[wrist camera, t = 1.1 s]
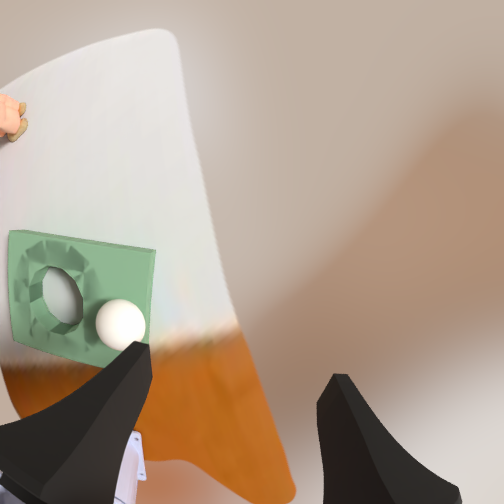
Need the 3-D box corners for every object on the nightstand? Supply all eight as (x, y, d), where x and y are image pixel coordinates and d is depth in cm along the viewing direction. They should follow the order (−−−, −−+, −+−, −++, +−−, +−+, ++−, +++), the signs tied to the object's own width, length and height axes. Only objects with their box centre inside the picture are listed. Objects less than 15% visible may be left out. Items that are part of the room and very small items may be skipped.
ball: (148, 342, 19) (140, 364, 15) (104, 334, 18) (89, 353, 15) (150, 297, 19) (141, 312, 15) (105, 289, 18) (87, 303, 14)
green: (148, 362, 21) (144, 375, 19) (25, 332, 19) (13, 340, 16) (155, 249, 21) (150, 253, 18) (23, 229, 18) (9, 230, 16)
